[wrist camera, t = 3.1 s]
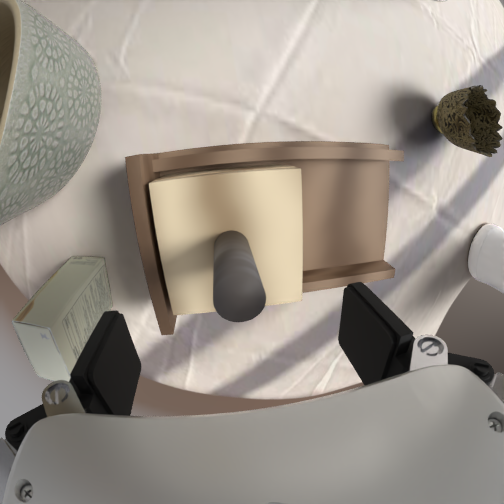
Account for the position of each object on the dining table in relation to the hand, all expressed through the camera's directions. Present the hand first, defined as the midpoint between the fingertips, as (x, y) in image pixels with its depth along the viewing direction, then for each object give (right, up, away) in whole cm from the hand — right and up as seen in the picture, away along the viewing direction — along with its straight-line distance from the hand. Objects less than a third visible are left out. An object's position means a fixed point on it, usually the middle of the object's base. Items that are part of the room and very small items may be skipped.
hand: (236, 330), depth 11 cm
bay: (+3, +7, +15) cm, 17 cm away
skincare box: (-17, 0, +15) cm, 23 cm away
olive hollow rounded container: (+23, +19, +13) cm, 32 cm away
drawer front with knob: (-1, +6, +14) cm, 15 cm away
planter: (-20, +16, +9) cm, 27 cm away
